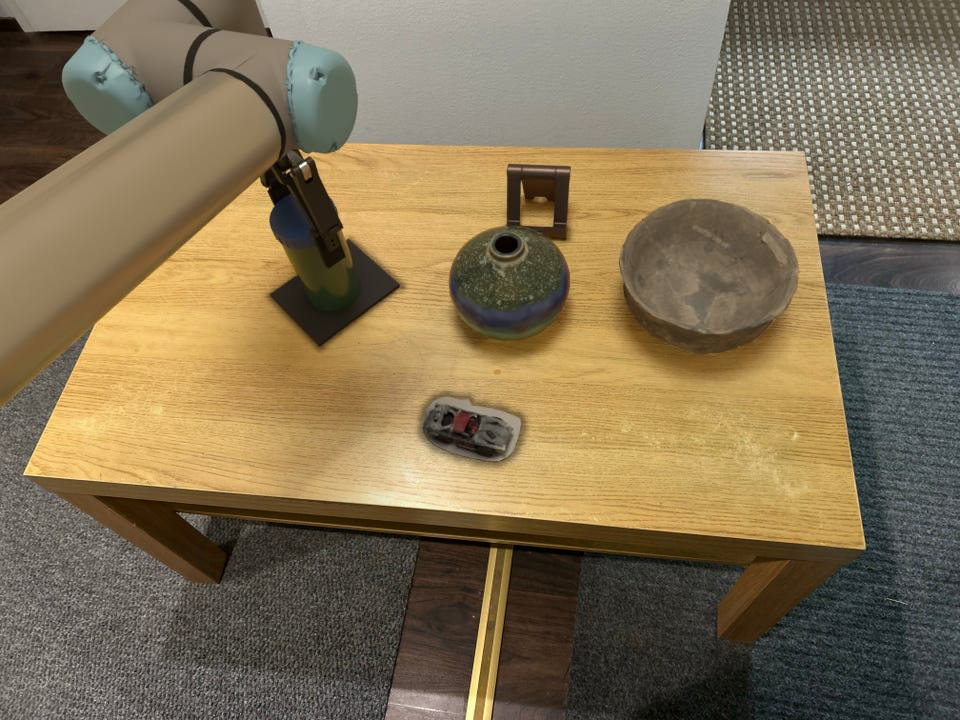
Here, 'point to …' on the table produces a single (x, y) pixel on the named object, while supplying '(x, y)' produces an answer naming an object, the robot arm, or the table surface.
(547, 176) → the tablet stand
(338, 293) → the jar
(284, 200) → the lid
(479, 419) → the toy car
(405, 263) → the table surface
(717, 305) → the bowl
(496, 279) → the vase
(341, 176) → the table surface
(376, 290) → the mat
